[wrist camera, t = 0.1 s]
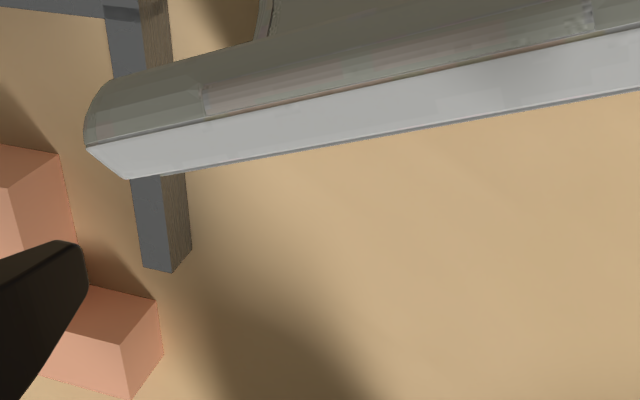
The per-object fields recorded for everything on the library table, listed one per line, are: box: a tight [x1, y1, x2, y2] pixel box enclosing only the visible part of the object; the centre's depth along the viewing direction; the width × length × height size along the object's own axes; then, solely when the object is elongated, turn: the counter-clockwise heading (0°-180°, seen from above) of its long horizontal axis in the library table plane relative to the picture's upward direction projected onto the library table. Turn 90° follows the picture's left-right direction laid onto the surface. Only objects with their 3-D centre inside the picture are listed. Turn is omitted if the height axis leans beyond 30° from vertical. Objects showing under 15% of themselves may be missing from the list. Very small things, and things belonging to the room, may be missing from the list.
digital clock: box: [83, 0, 640, 180], centre depth 16 cm, size 16×9×11 cm, turn 97°
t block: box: [0, 144, 164, 400], centre depth 31 cm, size 12×13×4 cm
